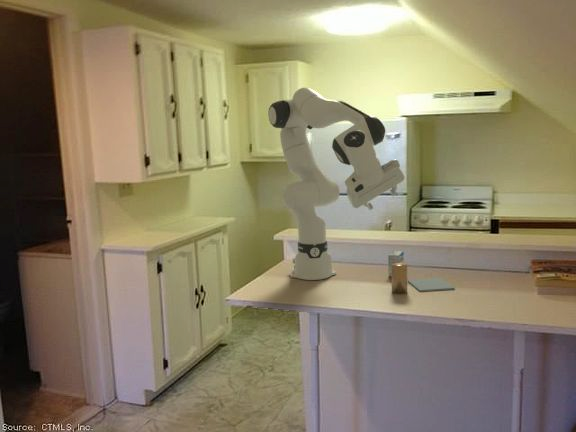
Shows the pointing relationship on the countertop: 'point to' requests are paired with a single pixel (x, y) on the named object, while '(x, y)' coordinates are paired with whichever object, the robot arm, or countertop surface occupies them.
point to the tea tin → (399, 278)
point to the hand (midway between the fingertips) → (382, 201)
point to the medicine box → (395, 259)
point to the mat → (430, 284)
